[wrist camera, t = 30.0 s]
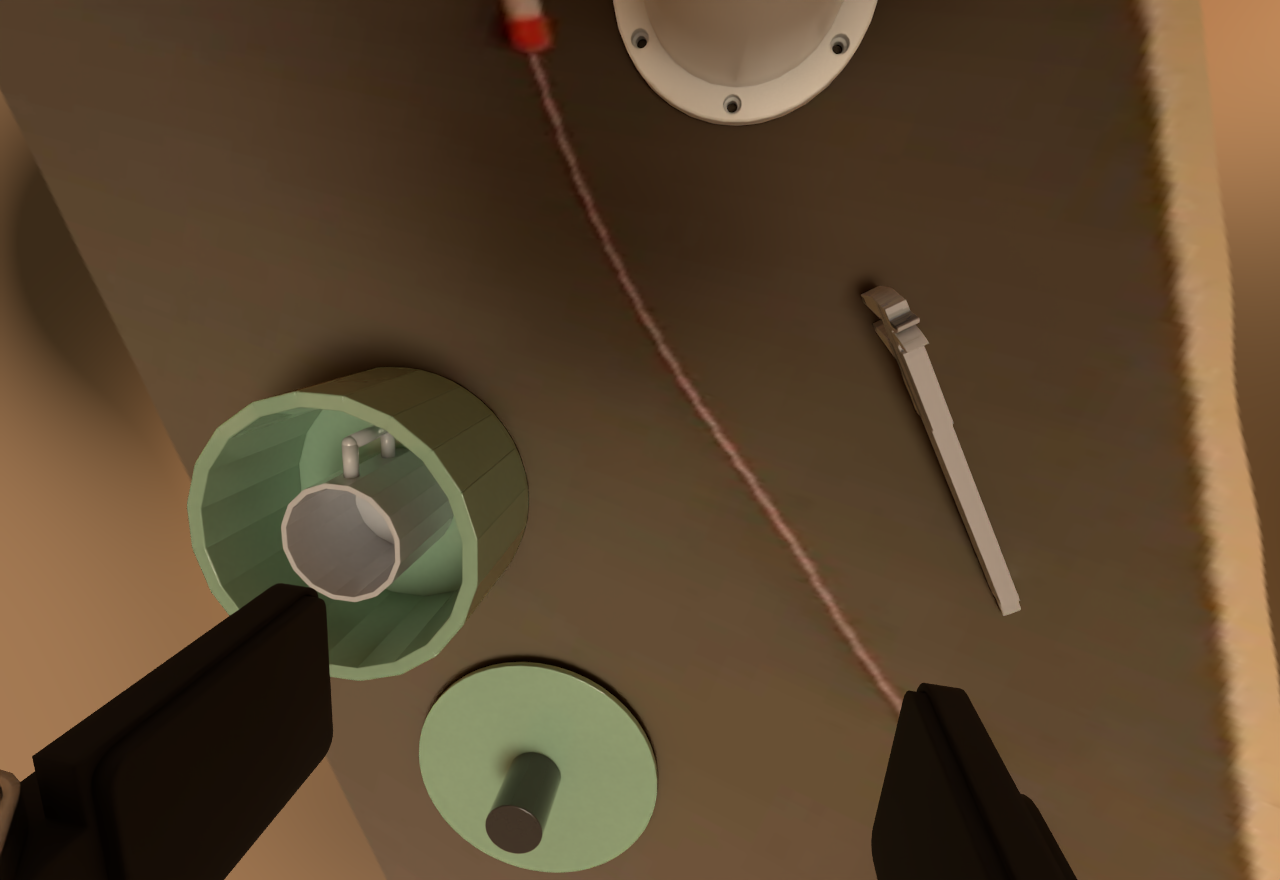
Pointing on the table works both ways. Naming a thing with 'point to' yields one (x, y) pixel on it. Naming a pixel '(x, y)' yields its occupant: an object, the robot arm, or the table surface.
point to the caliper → (941, 433)
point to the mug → (365, 520)
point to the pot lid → (538, 767)
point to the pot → (312, 450)
